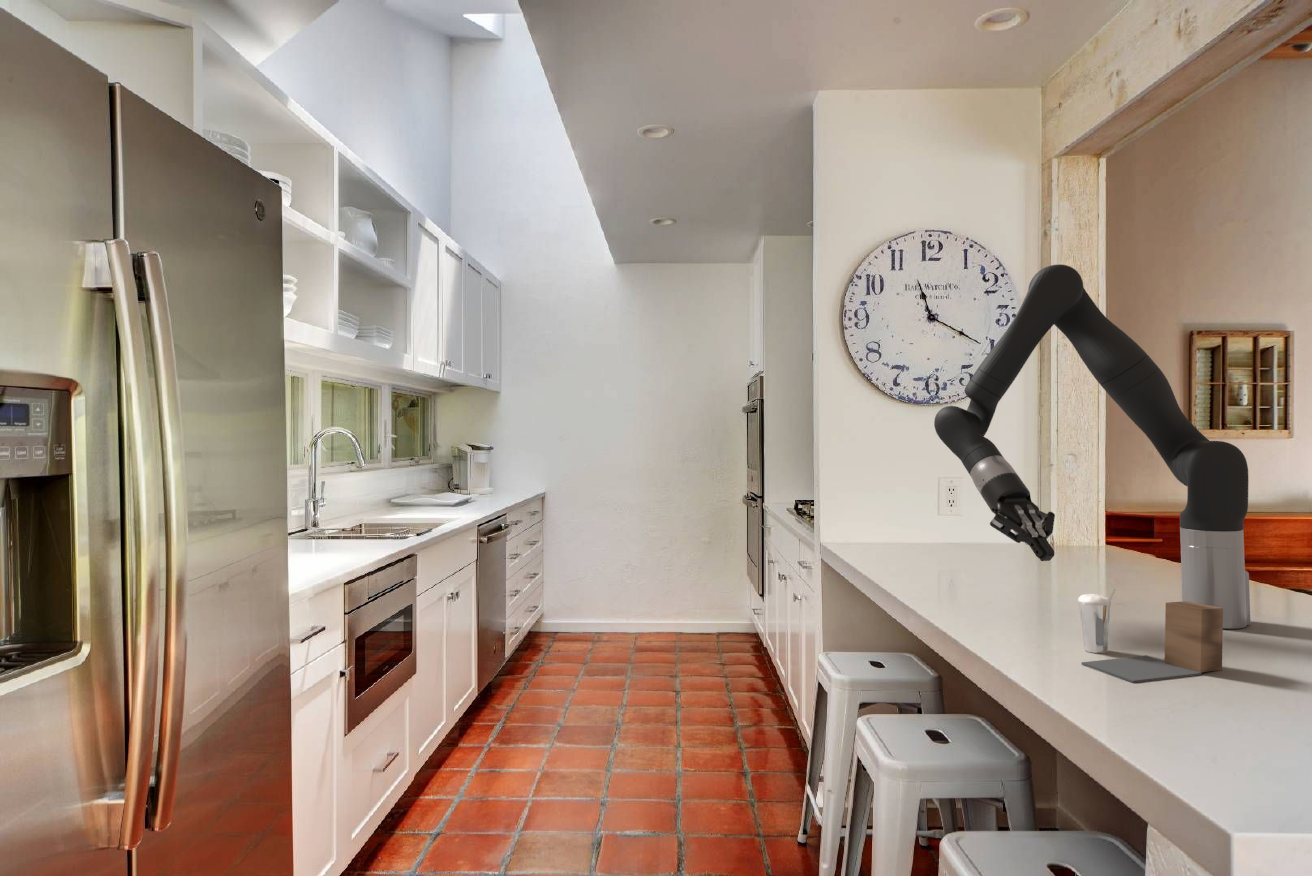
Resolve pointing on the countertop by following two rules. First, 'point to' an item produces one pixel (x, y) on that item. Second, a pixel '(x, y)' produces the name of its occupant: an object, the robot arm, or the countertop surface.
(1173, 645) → the walnut block
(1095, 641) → the milkshake
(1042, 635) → the countertop surface
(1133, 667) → the mat
